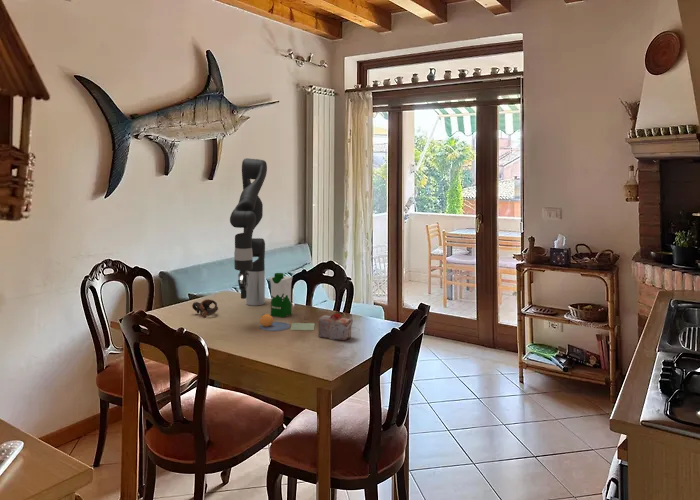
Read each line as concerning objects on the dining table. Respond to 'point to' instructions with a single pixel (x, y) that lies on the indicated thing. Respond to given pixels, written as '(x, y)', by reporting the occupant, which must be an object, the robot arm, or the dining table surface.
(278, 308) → the milk carton
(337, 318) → the food item
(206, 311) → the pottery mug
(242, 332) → the dining table surface
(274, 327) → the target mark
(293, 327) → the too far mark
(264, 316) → the ball
